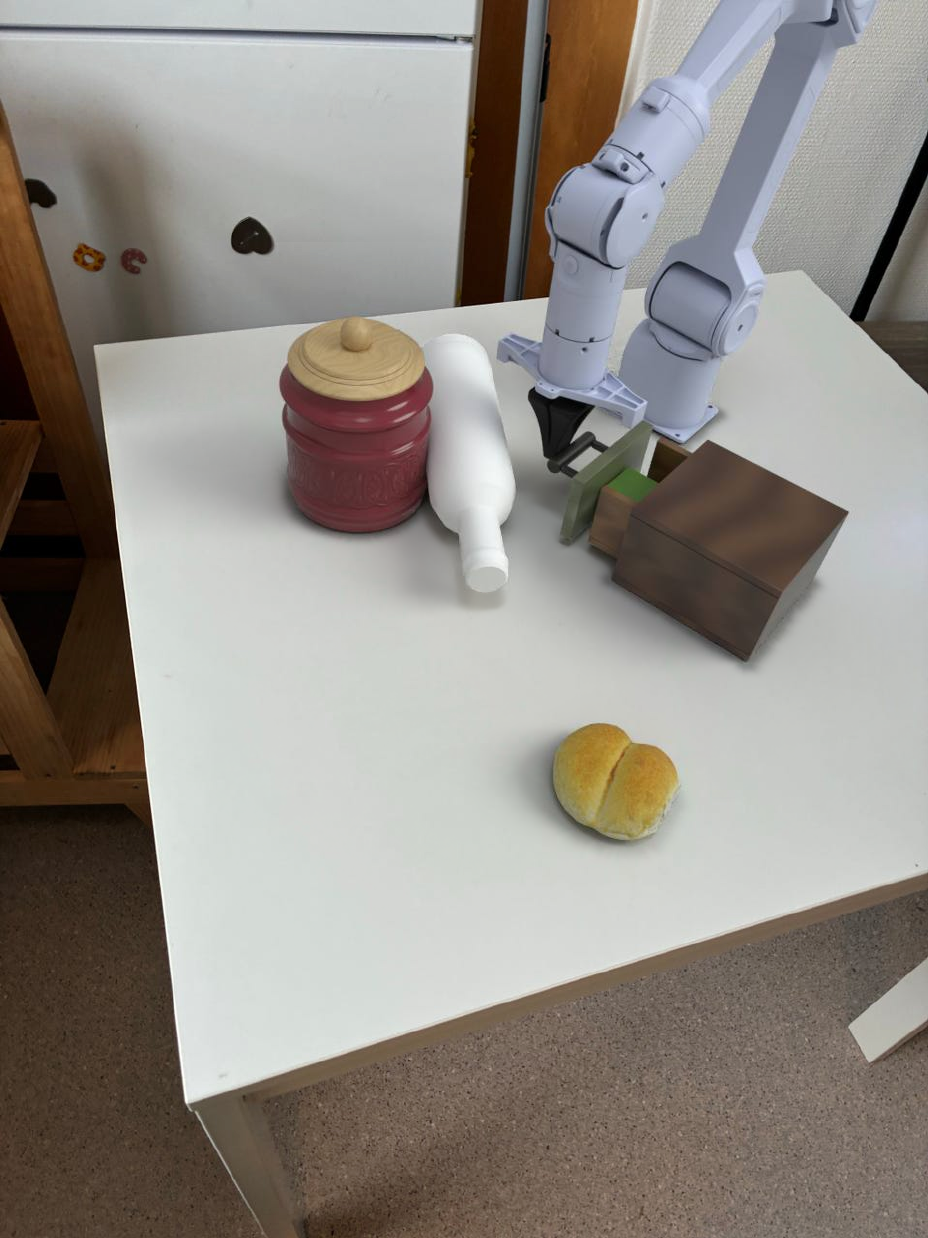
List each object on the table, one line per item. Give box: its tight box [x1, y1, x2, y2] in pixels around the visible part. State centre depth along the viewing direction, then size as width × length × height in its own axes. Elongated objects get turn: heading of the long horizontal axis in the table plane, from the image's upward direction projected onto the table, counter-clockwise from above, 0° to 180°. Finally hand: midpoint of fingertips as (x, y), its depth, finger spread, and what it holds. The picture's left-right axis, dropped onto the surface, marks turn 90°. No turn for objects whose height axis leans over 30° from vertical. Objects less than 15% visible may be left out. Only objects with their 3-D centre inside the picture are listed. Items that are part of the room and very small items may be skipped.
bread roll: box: [552, 722, 682, 842], centre depth 64 cm, size 8×9×4 cm
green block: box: [607, 467, 659, 503], centre depth 81 cm, size 6×4×3 cm
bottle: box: [421, 333, 517, 593], centre depth 83 cm, size 8×8×30 cm
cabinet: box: [611, 439, 850, 662], centre depth 77 cm, size 14×13×9 cm
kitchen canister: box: [278, 316, 434, 533], centre depth 78 cm, size 13×13×18 cm
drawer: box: [546, 420, 693, 560], centre depth 81 cm, size 17×11×7 cm
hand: (554, 454), depth 84 cm, fingers closed
